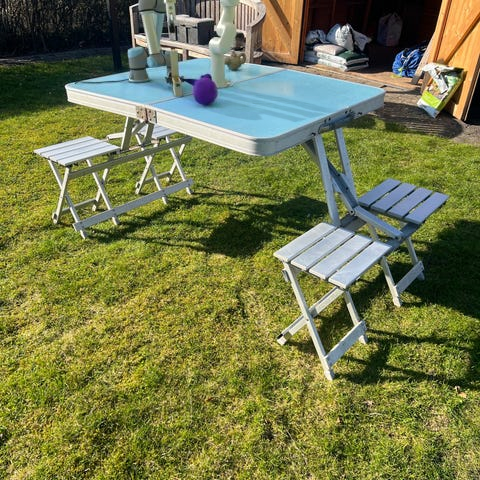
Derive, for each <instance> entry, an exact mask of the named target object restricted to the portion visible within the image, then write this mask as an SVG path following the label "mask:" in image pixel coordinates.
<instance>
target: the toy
mask: <svg viewBox="0 0 480 480" xmlns="http://www.w3.org/2000/svg"><path fill="white" fill-rule="evenodd" d="M182 80H183V81H184V83H187V84H189V85H191V86H192V87H193V89H192V95H193V98H194V100H195V101H196V103H198V104H199V105H202V106H209V105H212V104H213V103H214V102H215V101H216V99H217V98H218V94H219V90H218V88H217V86H216V84H215V82H214V81H212V76H211V73H205V74H202V75H200V77H199V78H198V79H197V78H184V79H182Z"/></svg>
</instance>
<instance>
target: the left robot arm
mask: <svg viewBox="0 0 480 480" xmlns="http://www.w3.org/2000/svg"><path fill="white" fill-rule="evenodd" d="M137 4H138V6H137V7H138V13H139V14H140V15H141V20H142V25H143V30H144V34H145V39H146V40H145V41H146V43H145V46H144V47H143V46H134V47H131V48H129V49H127V57H128V66H129V76H128V78H125V79H119V80H106V81H105V80H104V81H81V80H78V81H75V82H74V83H75V84H74V85H76V84H79V83H82V84H103V83H120V82H125V81H126V82H127V81H128V82H129V83H133V84H141V83H148V82H150V76H149V73H148V71H147V67H146V66H148V67H149V68H150V69H156V68H161V67H166V76H164V81H165V82H166V84H169V85H171V86H173V80H172V70H171V55H170V50H165V52H164V49H163V48H162V46H161V41H162V33H163V27H164V20H165V15H167V12H166V3H164V1H163V0H138V3H137ZM175 77H179V78H180V80H181V84H183V83H185V81H183V80H182V79H185V76H184V75H181V76H180V75H179V76H175Z"/></svg>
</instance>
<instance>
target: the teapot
mask: <svg viewBox="0 0 480 480" xmlns="http://www.w3.org/2000/svg"><path fill="white" fill-rule="evenodd" d="M241 58H242V59H241ZM224 60H225V66H227V69H228V70H230V71H238V70H239V69H240V68H241V67H242V65H244V64H245V63H246V61H247V56H246V53H245V52H243V51H242V52H239V54H237V53H236V52H235V50H232V51H231V54H230V56H226V57H224Z"/></svg>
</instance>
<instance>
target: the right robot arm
mask: <svg viewBox="0 0 480 480" xmlns="http://www.w3.org/2000/svg"><path fill="white" fill-rule="evenodd" d="M163 1H164V3H166V12H167V13H166V18H167V21H168V30H169V33H170V34H176V28H175V27H176V26H175V22H176V21H177V16H176V15H177V14H176V6H175V4H176V3H177V0H163ZM219 2H220V4H221V8H222V14H221V16H220V19H219V21H218V24H217V26H216V30H215V31H216V35H217V36H218V37H212V38H211V39H210V41H209V43H208V52H209V57H210V75H211V76H212V81H214V82H215V84H216V86H217V89H223V88H227V87H228V83H231V82H232V80H231V79H226V67H225V66H226V65H225V60H224V58H225V55H227V54H228V53H229V52H230V51H231V49H232V46H233V44H234V41H235V39H236V36H237V26H236V25H235V24H234V21H235V17H236V9H235V7H237V6H238V5H239V4H240V0H219Z"/></svg>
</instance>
